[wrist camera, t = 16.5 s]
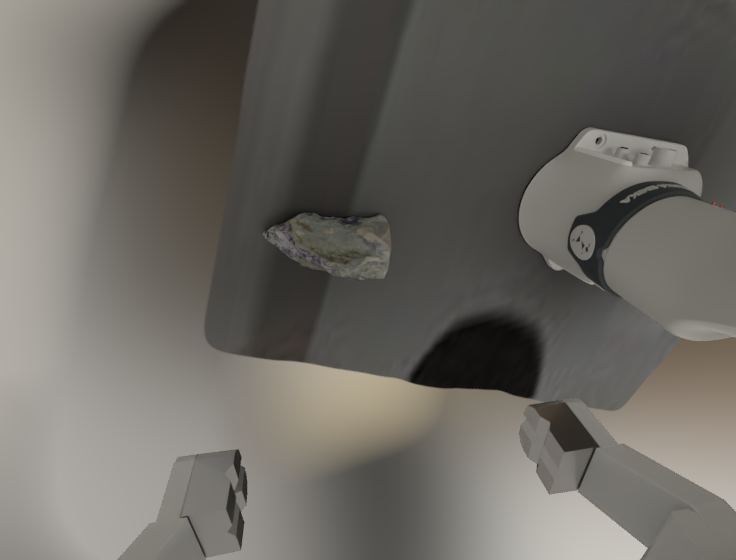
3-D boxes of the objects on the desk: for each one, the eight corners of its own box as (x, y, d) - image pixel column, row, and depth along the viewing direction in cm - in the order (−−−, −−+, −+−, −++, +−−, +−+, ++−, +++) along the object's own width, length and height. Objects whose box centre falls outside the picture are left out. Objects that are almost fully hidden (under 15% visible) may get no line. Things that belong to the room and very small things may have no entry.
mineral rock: (259, 229, 46) (251, 269, 37) (315, 158, 43) (320, 183, 34) (343, 285, 51) (352, 330, 43) (397, 225, 48) (419, 261, 40)
